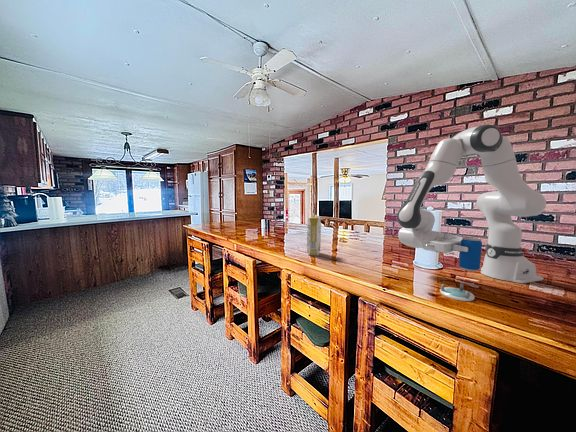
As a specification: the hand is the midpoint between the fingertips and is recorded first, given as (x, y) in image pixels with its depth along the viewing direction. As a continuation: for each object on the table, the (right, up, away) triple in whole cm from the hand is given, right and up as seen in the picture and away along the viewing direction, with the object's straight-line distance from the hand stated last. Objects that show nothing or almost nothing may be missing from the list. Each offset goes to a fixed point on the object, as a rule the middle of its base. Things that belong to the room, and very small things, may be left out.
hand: (473, 248), depth 90 cm
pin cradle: (-8, -17, -2) cm, 19 cm away
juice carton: (-55, -11, +55) cm, 79 cm away
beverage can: (-1, -9, +2) cm, 9 cm away
